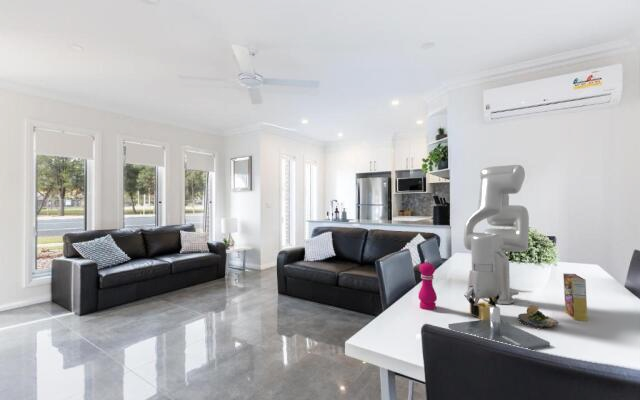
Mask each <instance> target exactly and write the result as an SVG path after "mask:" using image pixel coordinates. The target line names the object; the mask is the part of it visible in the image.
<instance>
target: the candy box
mask: <svg viewBox="0 0 640 400" xmlns="http://www.w3.org/2000/svg"><path fill="white" fill-rule="evenodd" d="M586 280H587V279H585V278H583V277H581V276H580V275H577V274H576V273H563V287H564V288H563V289H564V290H563V291H564V293H563V294H564V308H565V310H564V311H565V313H566V314H567V315H569V316H570V317H571V318H572V319H573V320H574V321H580V322H588V307H587V305H588V303H587V283H586V282H587V281H586Z"/></svg>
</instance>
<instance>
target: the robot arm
mask: <svg viewBox="0 0 640 400" xmlns="http://www.w3.org/2000/svg"><path fill="white" fill-rule="evenodd" d="M479 176H480V186H479V197H478V198H479V199H478V208H477V209H476V210H474V212H473V213H472V214H471V215H470V216H469V217H468V219H467V221H466V223H465V225H464V233H463V246H464V247H465V249H466V250H468V251H471V252H470V253H471V270H469V274H468V278H467V279H468V280H467V290H466V292H465V293H464V294H463V296H464V297H465V299H466V300H467V301H468V302H469V305H470V304H471V313H472V314H473V315H472V314H471V315H472V316H474V315H475V316H474V317H476V316H479V306H478V305H477V304H478V302H480V299H481V300H483V301H484V302H487V303H488V304H491V305H493V306H496V307H497V304H498V305H510V304H511V305H512V304H514V303H515V298H513V296H518V295H519V291H518V290H512V289H511V287H510V286H511V285H510V284H511V282H510V278H511V277H510V260H509V259H508V256H507V255H506V254H505V252H517V253H523V252H526V251H527V250H528V248H529V242H530V241H529V238H530V237H529V236H530V235H529V234H530V233H529V231H530V230H529V229H530V224H529V223H530V222H529V220H530V218H529V211H528V209H527V208H526V207H525V206H524V205H519V204H518V205H517V204H516V205H514V204H513V205H510V195H513V194H514V195H515V194H518V193H519V192H520V191H521V189H522V186H523V183H524V181H525V177H526V173H525V168H524V167H523V166H522V165H520V164H509V165H495V166H488V167H485V168H482V170H481V171H480V175H479ZM484 220H486V221H487V224H488V225H490V226H493V227H502V228H488V229H485V230H483V232H474V229H475V227H476V226H477V224H479V223H481V222H482V221H484ZM503 227H507V228H503ZM508 227H512V228H511V229H509V228H508ZM513 228H515V229H513Z"/></svg>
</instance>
